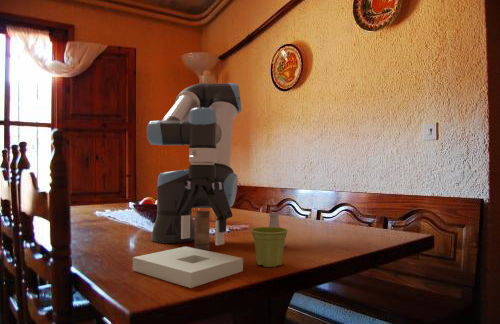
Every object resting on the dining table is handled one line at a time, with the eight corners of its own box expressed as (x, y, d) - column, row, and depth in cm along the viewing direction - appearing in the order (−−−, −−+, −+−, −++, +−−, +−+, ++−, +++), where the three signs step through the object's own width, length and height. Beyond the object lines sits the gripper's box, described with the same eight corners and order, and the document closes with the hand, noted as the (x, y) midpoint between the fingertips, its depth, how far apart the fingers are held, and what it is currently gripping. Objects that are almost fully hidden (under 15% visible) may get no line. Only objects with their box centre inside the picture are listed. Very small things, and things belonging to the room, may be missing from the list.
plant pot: (248, 260, 95) (249, 226, 95) (284, 259, 96) (284, 226, 96) (252, 269, 86) (252, 232, 86) (291, 269, 87) (291, 232, 87)
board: (132, 270, 85) (132, 257, 85) (185, 257, 97) (185, 246, 97) (190, 288, 72) (190, 272, 72) (242, 271, 85) (242, 258, 85)
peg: (191, 255, 100) (191, 211, 100) (202, 252, 103) (202, 210, 104) (201, 257, 98) (201, 212, 98) (212, 254, 101) (212, 211, 101)
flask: (284, 249, 109) (284, 215, 109) (260, 247, 110) (260, 214, 111) (287, 244, 116) (287, 212, 116) (264, 243, 118) (264, 212, 118)
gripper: (163, 164, 106) (162, 237, 106) (226, 163, 90) (225, 249, 90) (183, 164, 112) (182, 234, 111) (245, 164, 96) (245, 245, 96)
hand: (202, 241), depth 101 cm, fingers open, 13 cm apart
